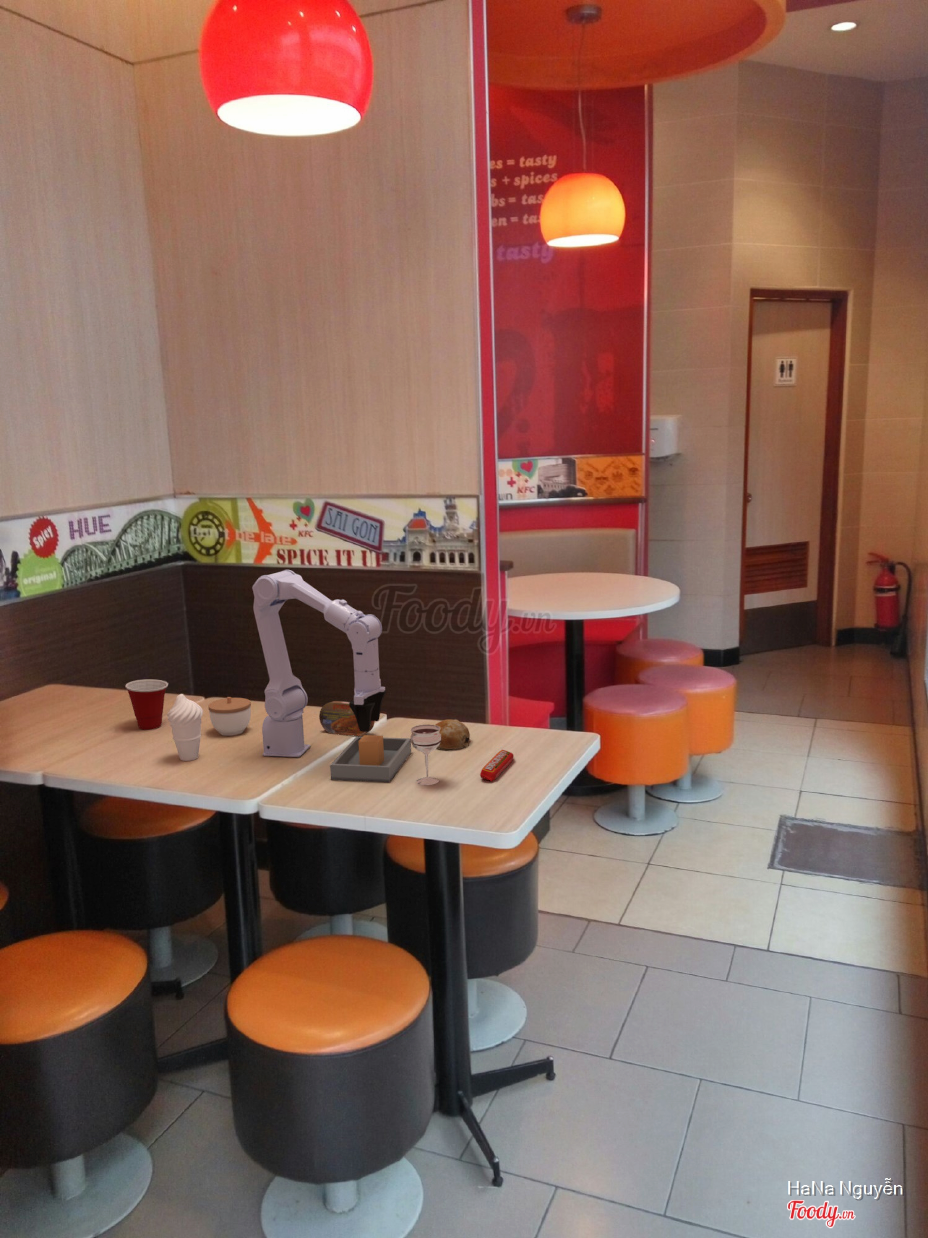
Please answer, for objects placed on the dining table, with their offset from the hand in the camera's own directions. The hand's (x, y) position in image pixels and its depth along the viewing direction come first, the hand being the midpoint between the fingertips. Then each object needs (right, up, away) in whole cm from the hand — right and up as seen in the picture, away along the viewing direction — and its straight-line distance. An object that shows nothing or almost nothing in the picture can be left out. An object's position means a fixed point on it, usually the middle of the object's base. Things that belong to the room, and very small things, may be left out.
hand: (369, 725), depth 226 cm
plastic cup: (-62, -4, +35) cm, 71 cm away
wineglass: (+14, -11, -10) cm, 20 cm away
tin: (-8, -5, +25) cm, 26 cm away
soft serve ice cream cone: (-44, -9, +10) cm, 46 cm away
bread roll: (+18, -6, +14) cm, 24 cm away
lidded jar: (-39, -5, +29) cm, 48 cm away
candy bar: (+29, -10, -4) cm, 31 cm away
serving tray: (+1, -9, +1) cm, 9 cm away
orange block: (+1, -9, +1) cm, 9 cm away
